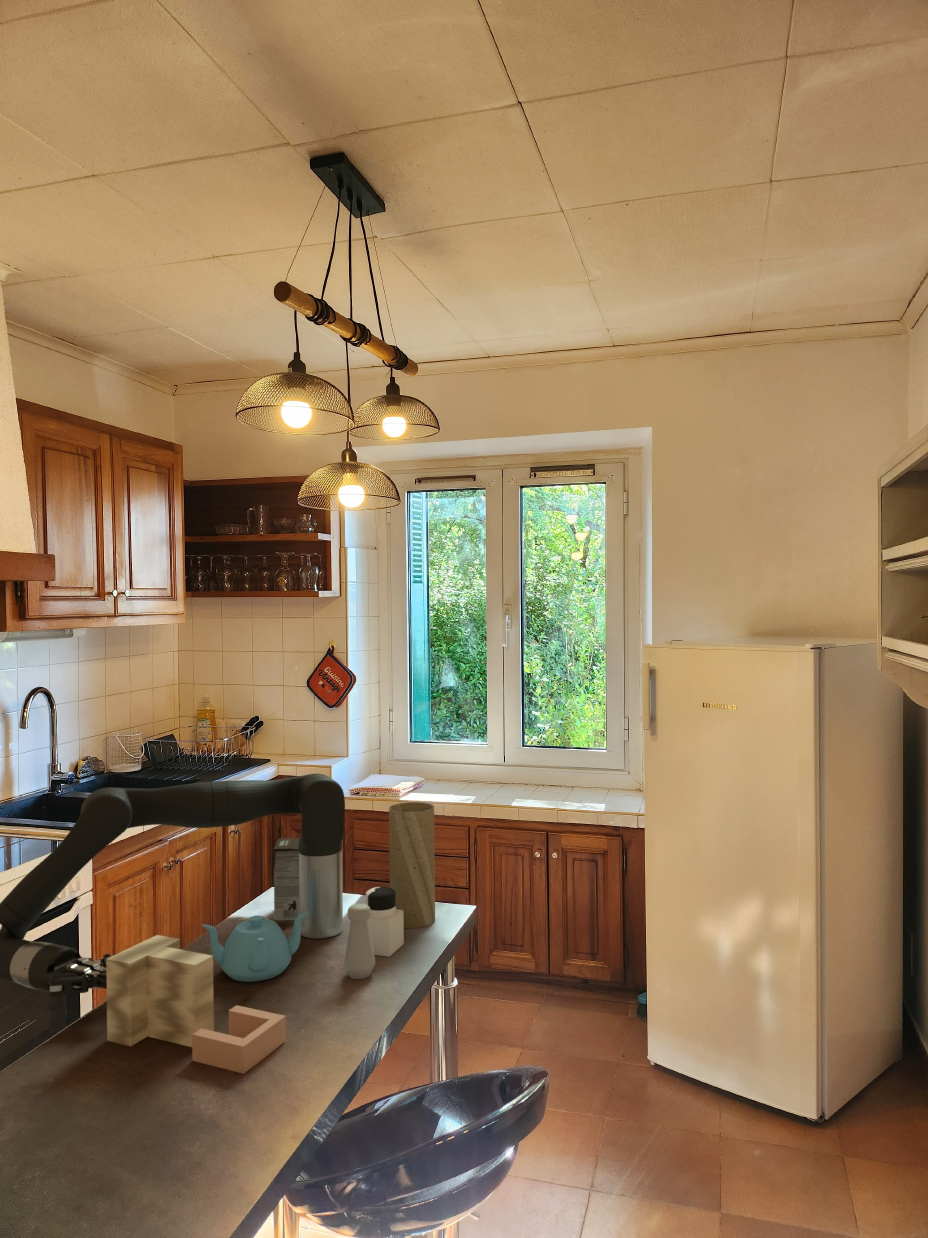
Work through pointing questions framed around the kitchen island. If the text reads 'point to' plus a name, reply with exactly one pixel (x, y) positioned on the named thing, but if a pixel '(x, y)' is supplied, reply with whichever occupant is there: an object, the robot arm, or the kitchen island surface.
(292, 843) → the coffee box
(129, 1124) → the kitchen island surface
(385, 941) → the medicine bottle
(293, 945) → the teapot
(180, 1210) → the kitchen island surface
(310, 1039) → the kitchen island surface
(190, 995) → the t block
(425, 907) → the tube
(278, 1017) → the frame
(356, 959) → the salt shaker
